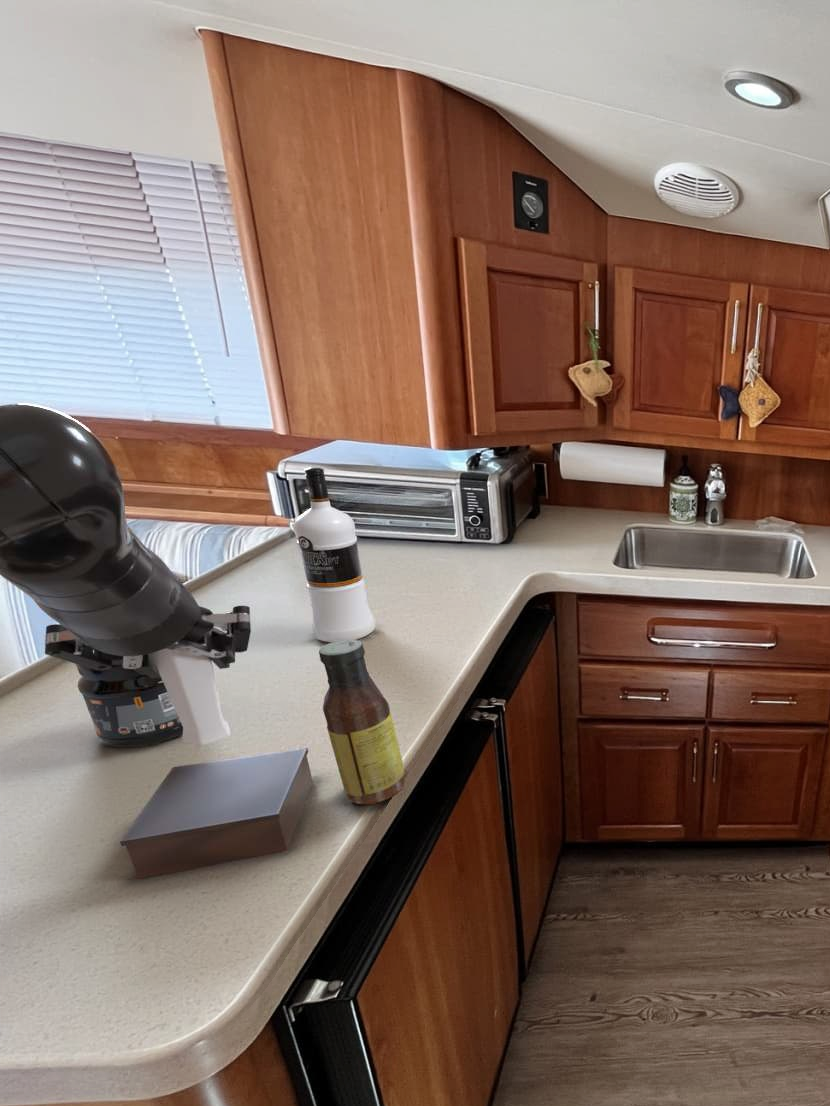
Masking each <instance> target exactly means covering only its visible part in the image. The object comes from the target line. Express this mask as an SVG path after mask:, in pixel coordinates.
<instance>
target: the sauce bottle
mask: <svg viewBox="0 0 830 1106" xmlns="http://www.w3.org/2000/svg"><path fill="white" fill-rule="evenodd" d="M365 653H366V650H365V647H364V644H363V642H361V641H360V640H358V639H357V640H353V639H345V640H339V641H335V642H328V643H326V644H324V645H322V646H321V647H320V648H319V650H318V655H319V661H320V662H321V663H322V664H323V666H324V670H325V672H326V676H327V683H328V689H327V692H326V693H325V695H324V699H323V704H322V711H323V715H324V718H325V720H326V729H327V732H328V736H329V740H330V744H331V747H332V751H333V754H334V757H335V762H336V766H337V769H338V772H339V776H340V780H341V784H342V786H343V790H344V791H345V793H347V794H346V795H347V798H348V800H349V801H350V802H351V803H354V804H358V805H375V804H379V803H382V802H386V801H388V800H389V799H392V798H393V797H395V796H397V795H398V794H399V793H400V792H401V791H402V790H403V788H404V786H405V784H406V779H405V766H404V764H403V763H404V762H403V759H402V754H401V750H400V746H399V742H398V737H397V733H396V728H395V725H394V721H393V717H392V713H391V708H390V705H389V702H388V701H387V699H386V697H384V695H383V693H382V692H381V691H380V689H379V688H378V686H377V685H376V683H375V681H374V680H373V679H372V677H371V676H370V673H369V671H368V668H367V664H366V658H365Z"/></svg>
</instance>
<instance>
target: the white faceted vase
mask: <svg viewBox="0 0 830 1106" xmlns="http://www.w3.org/2000/svg"><path fill="white" fill-rule="evenodd" d="M151 656H152V658H153V660H154V662H155V665H156V667H157V669H158V671H159V674H160V676H161V678H162V680H163V683H164V685H165V687H166V689H167V692H168V694H169V696H170V698H171V701H172V703H173V705H174V708H175V710H176V712H177V714H178V717H179V719H180V721H181V723H182V726H183V734H182V735H181V736H182V737H181V742H182V743H184V744H185V743H186V744H189V745H195V746H198V747H199V746H200V747H201V746H205V745H207V744H210V743H213V742H216V741H218V740H221V739H224V738H227V737H229V736H231V727H230V724H229V723H228V721H227V720H226V719H225V717H224V716H223V713H222V708H221V703H220V698H219V697H220V696H219V692H218V687H217V682H216V678H215V677H216V676H215V671H214V666H213V661H212V660H211V659H210V658H209V656H206V655H204V654H201V655H197V656H193V655H190V654H188V653H185V652H182V651H179V650H177V649H176V650H170V649H163V650H160V651H157V652H154V653H151Z"/></svg>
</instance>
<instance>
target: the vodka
mask: <svg viewBox="0 0 830 1106" xmlns="http://www.w3.org/2000/svg"><path fill="white" fill-rule="evenodd" d="M303 470H304V471H303V472H304V475H305V477H304V478H305V480H306V485H307V491H308V496H309V500H310V508H309V509H307V510H306V511H304V512H303V513H301V514H300V515H299V516H297V517H296V519H295V520H294V523H293V532H294V534H295V537H296V540H297V541H296V543H297V546H299V551H300V557H301V560H302V566H303V570H304V574H305V578H306V579H305V580H306V585H305V587H306V589H307V592H308V594H309V595H308V596H309V598H310V604H311V610H312V624H311V629H312V634H313V636H314V637H315V638H316V639H317V640H319V641H322V642H326V643H332V642H335V641H339V640H345V639H353V640H357V641H358V640H360V639H362V638H364V637H367V636H368V635H370V634H372V632H373V631H374V630H375V628H376V619H375V616H374V615H373V612H372V610H371V608H370V605H369V603H368V597H367V593H366V586H365V582H366V580H365V578H364V577H363V571H362V566H361V560H360V553H359V548H358V544H357V542H358V536H357V535H356V525H355V523H356V522H355V521H354V519H353V518H352V517H351V516H350V515H349V514H348V513H345V512H343V511H341V510H339V509H337V508H335V507H333V506H331V502H330V496H329V491H328V487H327V482H326V475H325V469H324V468H322V467H313V466H312V467H306V468H305V469H303Z"/></svg>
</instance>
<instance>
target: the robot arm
mask: <svg viewBox="0 0 830 1106" xmlns="http://www.w3.org/2000/svg"><path fill="white" fill-rule="evenodd" d="M115 463H116V462H115V461H114V460H113V457H112V456H111V454H110V452H109V451H108V450H107V448H106V446H105V445H104V444H103V442H102V441H101V440H100V439H99V438H98V437H97V436H96V435H95V434H94V433H93V432H92V431H91V430H90V429H89V428H88V427H86V426H85V425H84V424H82V423H81V422H79V421H78V420H76V419H74V418H72V417H71V416H69V415H67V414H65V413H62V412H60V411H58V410H55V409H52V408H49V407H45V406H41V405H37V404H30V403H11V404H4V405H0V576H1V578H4V579H5V580H6V581H8V582H9V583H10V584H12V585H13V586H15V587H16V588H17V589H19V590H20V591H21V592H23V593H24V594H26V596H28V597H30V599H32V600H33V601H34V603H35V604H36V605H37V606H38V608H39V609H41V611H43V612H44V613H45V614H46V615H47V616H48V617H50V618H51V619H52V620H53V621H55V622H56V623H55V624H49V625H46V627H45V636H44V654H45V655H46V656H50V657H52V658H56V659H58V660H62V661H66V662H68V663H72V664H75V665H76V664H78V665H82V666H85V667H88V668H91V669H95V670H108V669H111V668H112V665H115V664H123V668H126V669H134V670H135V671H136V672H138V673H139V674H142V675H148V676H149V677H151V678H158V677H161V676H160V674H159V671H158V669H157V667H156V665H155V662H154V660H153V658H152V656H151V653H154V652H157V651H160V650H163V649H170V650H176V649H177V650H179V651H182V652H185V653H188V654H190V655H193V656H197V655H201V654H204V655H206V656H209V658H210V659H211V661H212V663H213V664H214V665H216V666H217V668H219V669H220V670H223V669H229V668H230V667H231V664H235V662H236V653H244V652H247V651H248V647H249V643H250V637H251V632H252V627H251V624H252V623H251V609H250V606H248V605H236V606H233V608H232V611H227V612H226V613H213V611H212V610H210V609H208V608H207V607H203V606H200V605H199V604H198V602H197V601H196V599H195V597H194V596H193V595H192V592H190V591H189V589H188V588H187V587H186V586H185V585H184V584H183V582H182V581H181V580H180V579H179V578H178V577H177V576H176V574H175V573H174V572H173V571H172V570H171V568H169V566H168V565H167V564H166V562H165V561H164V560H163V559H162V558H160V556H159V555H158V554H156V553H155V552H154V551H152V549H150V548H148V547H147V546H146V545H145V544H144V543H143V542H142V540H140V538H139V537H138V536H137V535H136V534H135V533H134V532H133V530H132V529H131V528H130V526H129V525H128V522H127V515H126V505H125V495H124V489H123V484H122V480H121V477H120V473H119V471H118V468H117V465H116V464H115ZM219 628H220V629H219ZM93 649H94V654H93Z"/></svg>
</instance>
